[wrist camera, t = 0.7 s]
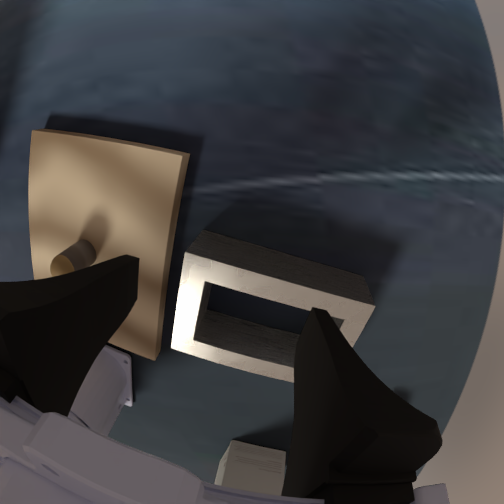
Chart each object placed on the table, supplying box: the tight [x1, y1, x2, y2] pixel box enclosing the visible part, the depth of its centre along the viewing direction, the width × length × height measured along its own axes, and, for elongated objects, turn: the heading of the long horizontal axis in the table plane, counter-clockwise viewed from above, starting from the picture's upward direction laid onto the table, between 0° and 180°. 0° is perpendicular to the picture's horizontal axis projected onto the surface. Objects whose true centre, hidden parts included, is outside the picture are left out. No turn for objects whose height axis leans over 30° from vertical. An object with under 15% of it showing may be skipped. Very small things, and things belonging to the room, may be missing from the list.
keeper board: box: [29, 129, 190, 361], centre depth 20 cm, size 18×14×6 cm
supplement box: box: [214, 440, 286, 496], centre depth 27 cm, size 7×7×13 cm
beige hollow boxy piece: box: [171, 230, 375, 382], centre depth 21 cm, size 8×12×4 cm, turn 76°
